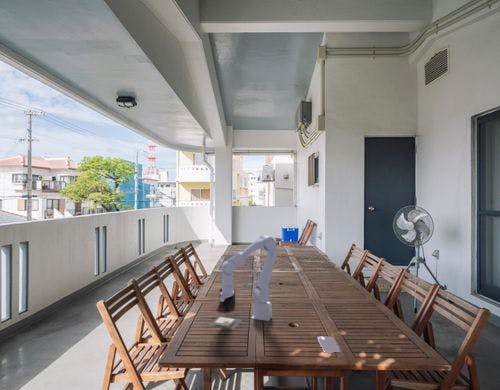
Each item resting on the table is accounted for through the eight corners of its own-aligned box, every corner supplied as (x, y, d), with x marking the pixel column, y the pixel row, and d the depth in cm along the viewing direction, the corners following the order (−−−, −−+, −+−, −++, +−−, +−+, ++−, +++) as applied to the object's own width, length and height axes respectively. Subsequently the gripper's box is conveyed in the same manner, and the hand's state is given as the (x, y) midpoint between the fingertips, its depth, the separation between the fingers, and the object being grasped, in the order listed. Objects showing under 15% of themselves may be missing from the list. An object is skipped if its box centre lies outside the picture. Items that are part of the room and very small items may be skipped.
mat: (242, 320, 175) (242, 319, 175) (233, 330, 163) (233, 329, 163) (218, 316, 179) (218, 315, 179) (207, 326, 167) (207, 325, 167)
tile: (234, 319, 172) (229, 324, 165) (234, 321, 172) (229, 327, 165) (220, 317, 174) (214, 322, 168) (220, 319, 174) (214, 324, 168)
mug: (217, 309, 191) (217, 293, 191) (220, 301, 203) (221, 287, 203) (233, 309, 190) (233, 294, 190) (236, 302, 202) (236, 287, 202)
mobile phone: (323, 351, 141) (316, 335, 156) (323, 353, 141) (316, 337, 156) (341, 351, 141) (333, 335, 156) (341, 353, 141) (333, 337, 156)
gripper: (226, 280, 181) (225, 305, 181) (214, 288, 167) (214, 314, 167) (238, 281, 178) (237, 307, 179) (227, 289, 165) (227, 316, 165)
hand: (227, 310), depth 173 cm, fingers closed
